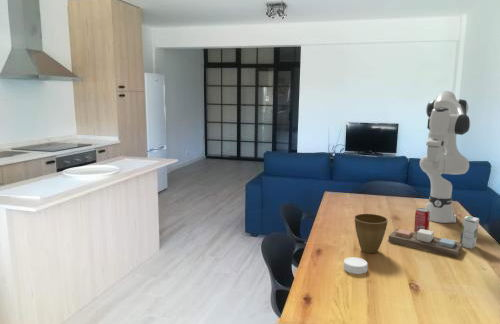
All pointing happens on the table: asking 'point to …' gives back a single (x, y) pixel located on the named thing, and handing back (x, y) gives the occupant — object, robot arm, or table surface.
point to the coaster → (355, 265)
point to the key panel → (426, 244)
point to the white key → (425, 235)
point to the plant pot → (370, 231)
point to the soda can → (421, 219)
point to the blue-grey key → (447, 243)
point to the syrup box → (469, 231)
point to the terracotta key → (404, 233)
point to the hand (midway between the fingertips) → (435, 169)
